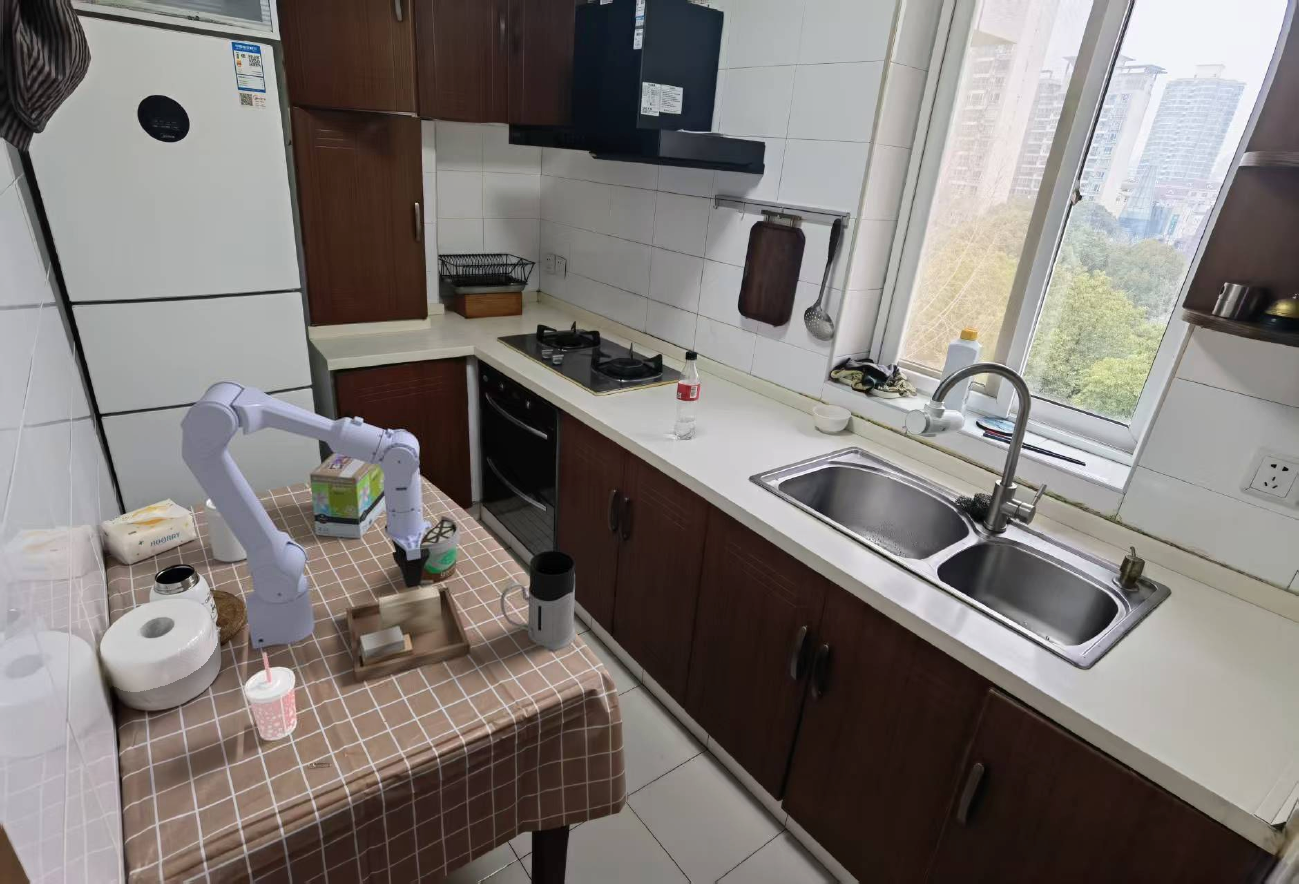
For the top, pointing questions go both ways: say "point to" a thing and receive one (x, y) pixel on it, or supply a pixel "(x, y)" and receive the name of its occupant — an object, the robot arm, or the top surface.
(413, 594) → the cream chamfered post
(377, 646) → the offcut upper
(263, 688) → the beverage cup
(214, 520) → the beverage can
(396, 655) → the offcut lower
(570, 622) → the grey mug
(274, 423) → the robot arm
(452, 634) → the crate
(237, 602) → the top surface
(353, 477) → the tea box
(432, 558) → the food container
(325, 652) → the top surface
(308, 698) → the top surface
